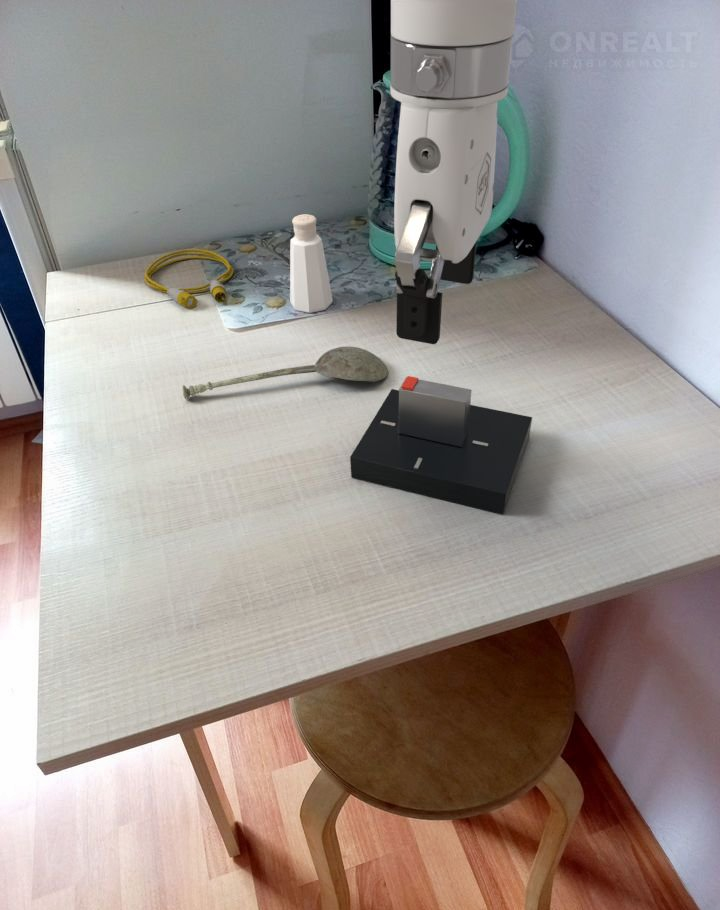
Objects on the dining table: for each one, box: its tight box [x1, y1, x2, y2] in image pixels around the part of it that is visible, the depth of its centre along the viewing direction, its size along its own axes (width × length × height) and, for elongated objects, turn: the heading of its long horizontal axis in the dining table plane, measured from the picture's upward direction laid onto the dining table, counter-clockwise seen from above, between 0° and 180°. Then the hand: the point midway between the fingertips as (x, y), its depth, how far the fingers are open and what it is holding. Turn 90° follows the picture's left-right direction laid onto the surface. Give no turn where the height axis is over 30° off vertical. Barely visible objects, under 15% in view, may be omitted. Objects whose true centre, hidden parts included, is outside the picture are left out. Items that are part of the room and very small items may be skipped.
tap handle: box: [398, 375, 472, 447], centre depth 63 cm, size 6×2×5 cm, turn 68°
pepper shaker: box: [289, 213, 334, 314], centre depth 86 cm, size 5×5×11 cm
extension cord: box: [144, 248, 235, 310], centre depth 94 cm, size 12×16×2 cm
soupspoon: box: [181, 346, 389, 402], centre depth 75 cm, size 22×3×7 cm
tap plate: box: [349, 388, 533, 515], centre depth 65 cm, size 14×11×3 cm
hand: (436, 308), depth 56 cm, fingers open, 9 cm apart
